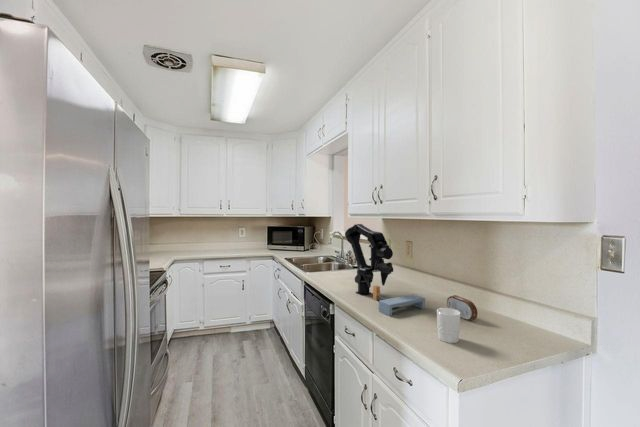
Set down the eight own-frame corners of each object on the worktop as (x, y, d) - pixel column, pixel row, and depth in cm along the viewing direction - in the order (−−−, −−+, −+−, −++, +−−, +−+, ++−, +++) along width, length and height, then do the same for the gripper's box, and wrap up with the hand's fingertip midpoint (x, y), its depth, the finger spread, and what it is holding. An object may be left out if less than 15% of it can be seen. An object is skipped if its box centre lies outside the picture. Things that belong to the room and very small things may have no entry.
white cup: (431, 336, 106) (431, 309, 106) (447, 333, 110) (447, 306, 110) (449, 345, 99) (449, 316, 99) (465, 341, 102) (465, 313, 102)
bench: (378, 311, 133) (378, 300, 133) (413, 304, 144) (413, 294, 144) (389, 316, 127) (389, 304, 127) (424, 308, 138) (424, 297, 138)
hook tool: (366, 300, 149) (366, 287, 149) (376, 298, 153) (376, 285, 153) (388, 309, 136) (388, 294, 136) (399, 307, 140) (399, 292, 140)
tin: (478, 322, 120) (478, 302, 120) (472, 323, 119) (472, 303, 119) (451, 311, 134) (451, 292, 134) (445, 311, 133) (445, 293, 133)
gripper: (372, 260, 140) (372, 292, 140) (400, 257, 149) (400, 287, 149) (358, 257, 150) (358, 287, 150) (386, 254, 159) (386, 283, 159)
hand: (376, 286), depth 151 cm, fingers open, 9 cm apart
